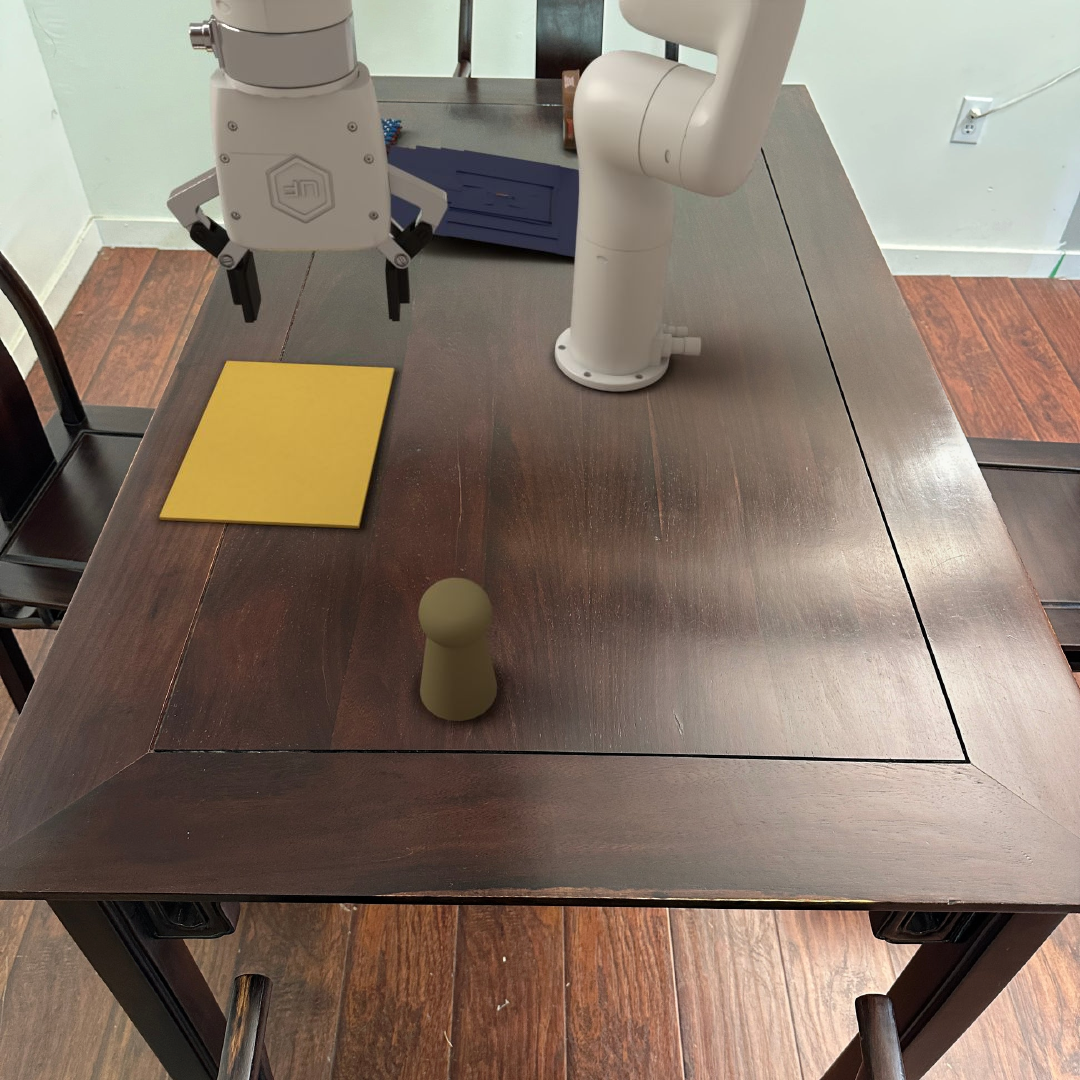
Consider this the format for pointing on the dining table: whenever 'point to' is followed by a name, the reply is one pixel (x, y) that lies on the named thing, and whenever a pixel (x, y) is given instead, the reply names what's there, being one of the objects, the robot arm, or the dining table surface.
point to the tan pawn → (456, 650)
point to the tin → (569, 107)
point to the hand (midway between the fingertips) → (324, 311)
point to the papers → (495, 197)
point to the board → (283, 446)
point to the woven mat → (390, 131)
